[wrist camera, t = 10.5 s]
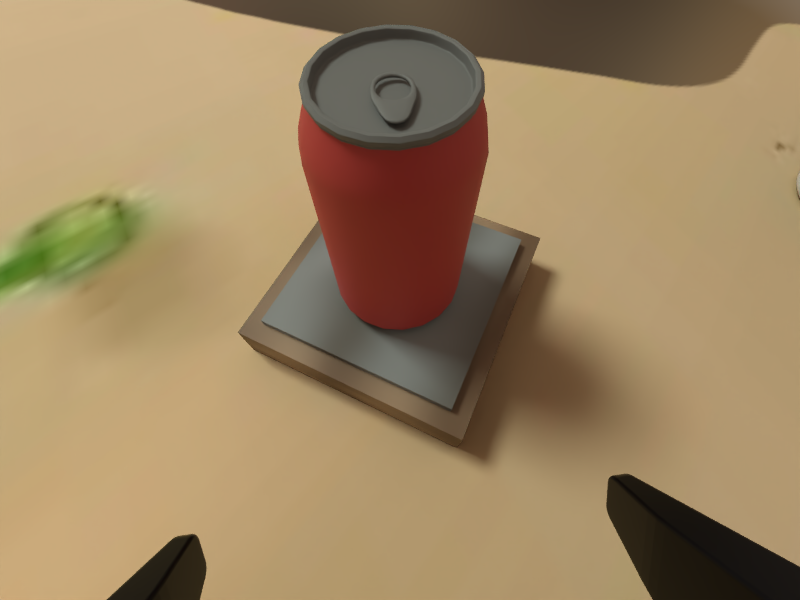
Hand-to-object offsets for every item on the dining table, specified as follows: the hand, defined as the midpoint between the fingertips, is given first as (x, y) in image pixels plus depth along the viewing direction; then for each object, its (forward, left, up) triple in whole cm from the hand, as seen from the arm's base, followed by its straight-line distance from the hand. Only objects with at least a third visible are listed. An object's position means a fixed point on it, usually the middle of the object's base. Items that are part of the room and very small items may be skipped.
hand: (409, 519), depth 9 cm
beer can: (+5, -10, -10) cm, 15 cm away
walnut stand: (+5, -10, -12) cm, 17 cm away
